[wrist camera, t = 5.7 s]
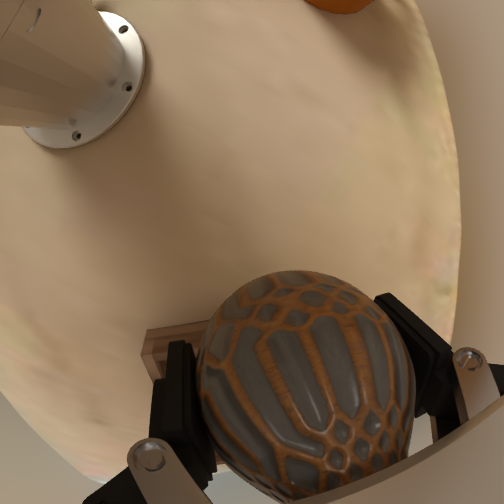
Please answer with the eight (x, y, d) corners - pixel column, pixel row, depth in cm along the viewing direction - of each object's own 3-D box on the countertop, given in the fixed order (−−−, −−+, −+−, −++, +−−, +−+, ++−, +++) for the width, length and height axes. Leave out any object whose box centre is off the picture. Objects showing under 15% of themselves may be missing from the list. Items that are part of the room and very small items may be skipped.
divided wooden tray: (147, 329, 26) (140, 355, 22) (280, 306, 27) (292, 329, 24) (197, 443, 33) (199, 466, 29) (291, 427, 34) (299, 448, 31)
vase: (197, 384, 13) (215, 561, 5) (191, 245, 10) (192, 498, 2) (332, 371, 14) (411, 509, 6) (362, 245, 12) (530, 375, 4)
